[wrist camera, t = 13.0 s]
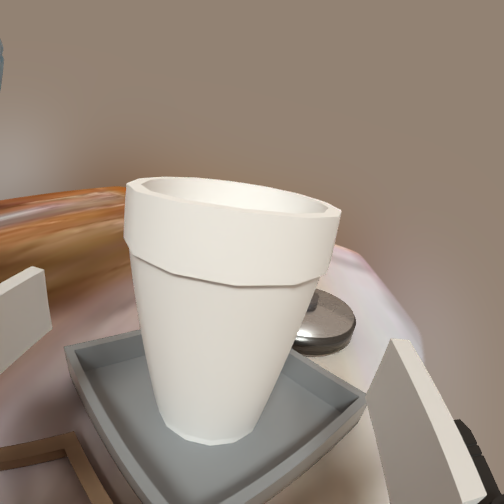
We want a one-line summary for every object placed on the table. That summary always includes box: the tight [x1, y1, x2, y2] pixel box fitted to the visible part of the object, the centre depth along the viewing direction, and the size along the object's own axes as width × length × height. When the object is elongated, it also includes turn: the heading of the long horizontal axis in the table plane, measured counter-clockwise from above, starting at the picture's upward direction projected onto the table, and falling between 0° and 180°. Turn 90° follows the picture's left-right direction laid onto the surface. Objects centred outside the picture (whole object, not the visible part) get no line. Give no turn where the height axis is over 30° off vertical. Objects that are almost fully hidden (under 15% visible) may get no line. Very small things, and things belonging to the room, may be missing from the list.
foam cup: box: [124, 177, 342, 446], centre depth 16 cm, size 10×9×13 cm
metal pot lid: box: [291, 289, 356, 357], centre depth 29 cm, size 11×11×4 cm
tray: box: [64, 329, 367, 504], centre depth 17 cm, size 14×14×3 cm
